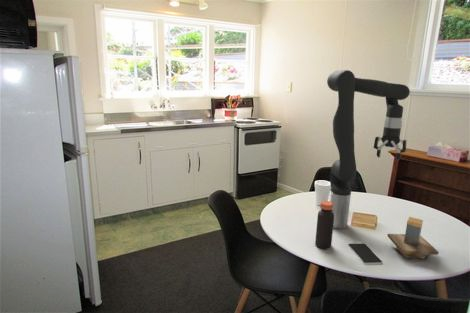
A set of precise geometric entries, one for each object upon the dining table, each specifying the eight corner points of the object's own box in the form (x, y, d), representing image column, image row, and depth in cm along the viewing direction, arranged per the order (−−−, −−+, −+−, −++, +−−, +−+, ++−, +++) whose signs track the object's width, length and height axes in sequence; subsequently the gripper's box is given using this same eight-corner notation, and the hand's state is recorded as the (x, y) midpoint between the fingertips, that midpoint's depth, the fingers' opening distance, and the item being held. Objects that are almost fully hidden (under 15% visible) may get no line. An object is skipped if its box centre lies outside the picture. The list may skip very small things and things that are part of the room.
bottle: (313, 241, 139) (317, 199, 134) (328, 241, 138) (332, 200, 134) (317, 249, 132) (320, 206, 127) (332, 249, 132) (337, 206, 127)
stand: (401, 261, 124) (402, 250, 123) (386, 243, 138) (387, 233, 137) (436, 262, 124) (438, 251, 123) (418, 244, 137) (419, 234, 136)
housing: (417, 246, 126) (421, 224, 124) (403, 242, 129) (407, 220, 127) (419, 241, 130) (423, 220, 128) (405, 238, 133) (409, 216, 131)
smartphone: (364, 243, 137) (383, 262, 122) (364, 245, 137) (383, 264, 122) (347, 243, 136) (364, 262, 121) (347, 246, 136) (363, 265, 122)
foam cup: (311, 200, 185) (312, 180, 182) (325, 200, 186) (327, 180, 183) (316, 207, 176) (318, 185, 173) (332, 206, 177) (334, 185, 174)
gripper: (375, 125, 151) (370, 157, 155) (407, 128, 143) (402, 162, 147) (378, 124, 157) (374, 155, 161) (410, 127, 149) (405, 159, 153)
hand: (387, 158), depth 154 cm, fingers open, 8 cm apart
